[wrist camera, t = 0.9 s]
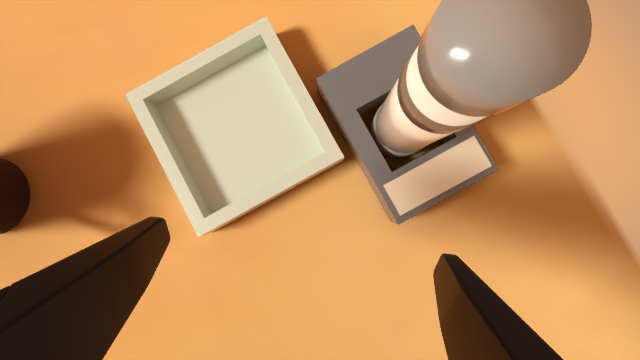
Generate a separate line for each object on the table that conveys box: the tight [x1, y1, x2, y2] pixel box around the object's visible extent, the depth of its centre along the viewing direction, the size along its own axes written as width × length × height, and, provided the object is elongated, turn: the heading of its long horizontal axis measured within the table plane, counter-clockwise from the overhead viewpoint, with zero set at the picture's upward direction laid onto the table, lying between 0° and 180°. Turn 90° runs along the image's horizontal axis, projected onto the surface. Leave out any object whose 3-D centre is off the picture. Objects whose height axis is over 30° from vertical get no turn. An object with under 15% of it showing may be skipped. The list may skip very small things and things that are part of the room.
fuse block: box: [316, 25, 499, 224], centre depth 21 cm, size 12×8×3 cm, turn 29°
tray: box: [125, 16, 344, 237], centre depth 21 cm, size 12×12×2 cm
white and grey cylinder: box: [370, 0, 592, 158], centre depth 15 cm, size 4×4×14 cm
